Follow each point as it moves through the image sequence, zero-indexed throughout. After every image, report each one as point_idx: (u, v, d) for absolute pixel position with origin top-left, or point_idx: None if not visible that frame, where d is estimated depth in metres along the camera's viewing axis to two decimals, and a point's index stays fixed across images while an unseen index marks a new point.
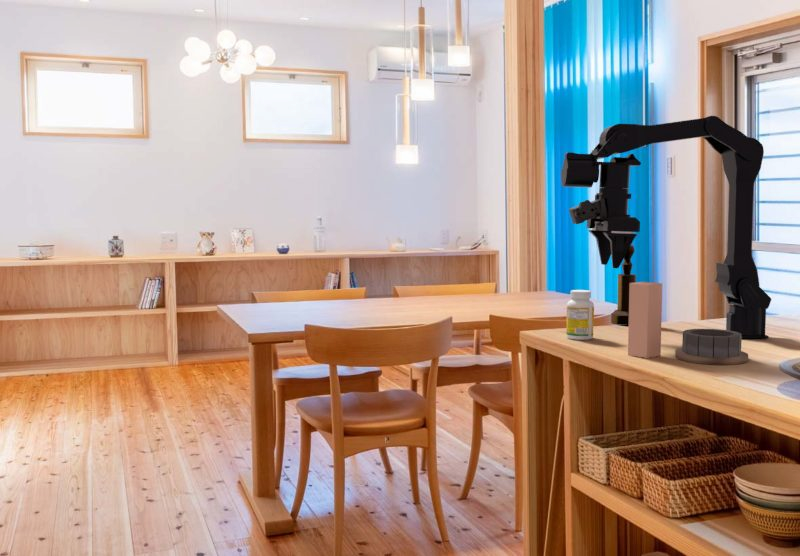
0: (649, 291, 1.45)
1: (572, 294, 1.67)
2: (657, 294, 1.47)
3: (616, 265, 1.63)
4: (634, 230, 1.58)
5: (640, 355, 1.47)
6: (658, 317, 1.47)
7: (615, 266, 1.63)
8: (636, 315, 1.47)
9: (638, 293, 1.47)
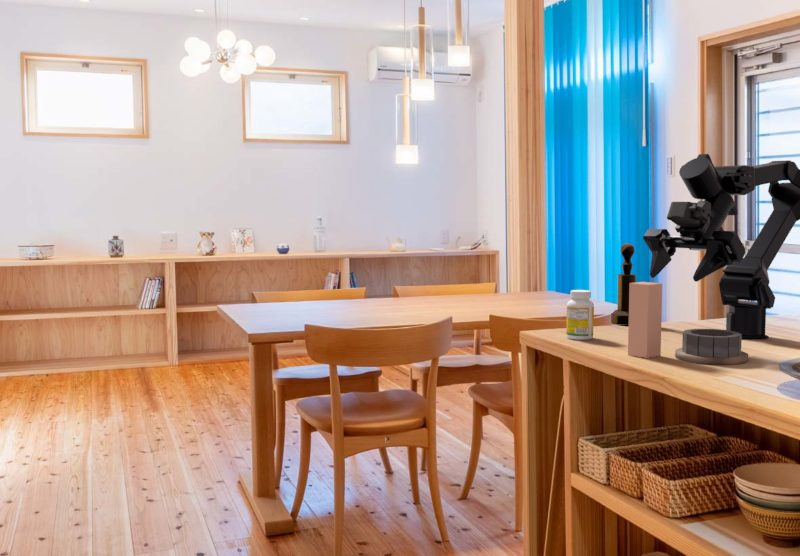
0: (649, 291, 1.45)
1: (572, 294, 1.67)
2: (657, 294, 1.47)
3: (696, 278, 1.49)
4: (740, 257, 1.49)
5: (640, 355, 1.47)
6: (658, 317, 1.47)
7: (696, 278, 1.49)
8: (636, 315, 1.47)
9: (638, 293, 1.47)
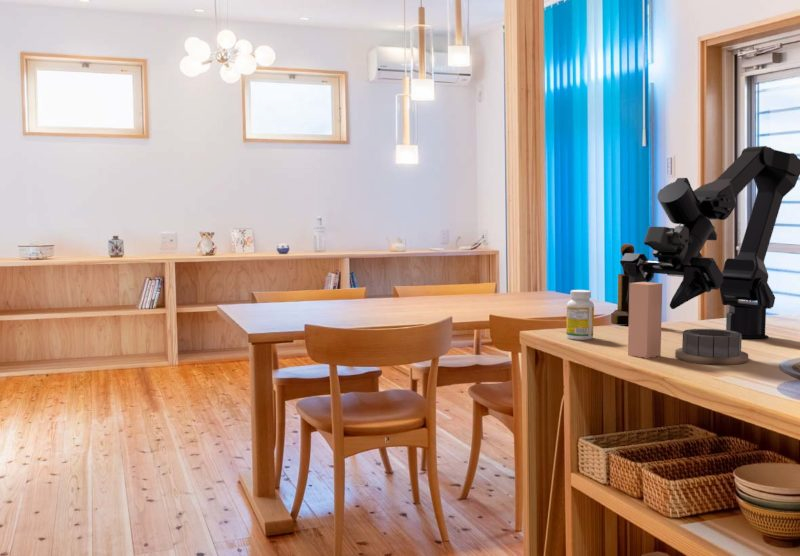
0: (649, 291, 1.45)
1: (572, 294, 1.67)
2: (657, 294, 1.47)
3: (673, 305, 1.45)
4: (718, 284, 1.45)
5: (640, 355, 1.47)
6: (658, 317, 1.47)
7: (673, 305, 1.45)
8: (636, 315, 1.47)
9: (638, 293, 1.47)
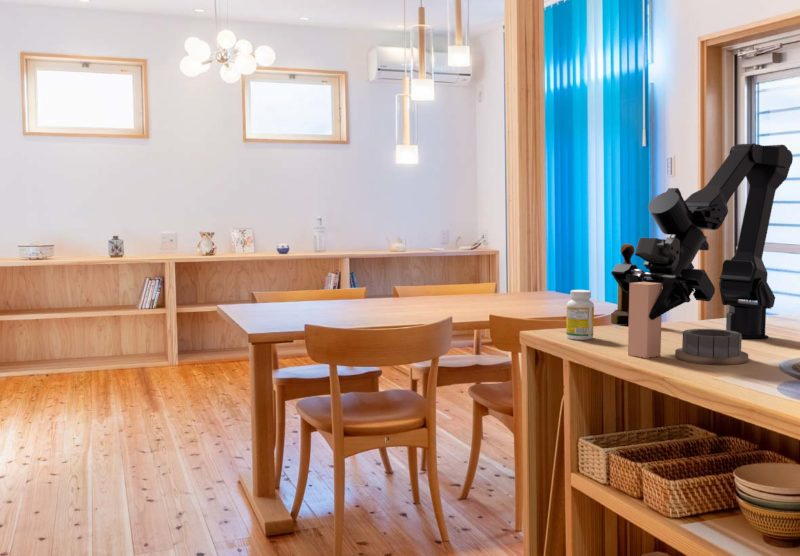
0: (649, 291, 1.45)
1: (572, 294, 1.67)
2: (657, 294, 1.47)
3: (652, 316, 1.46)
4: (710, 296, 1.44)
5: (640, 355, 1.47)
6: (658, 317, 1.47)
7: (652, 316, 1.46)
8: (636, 315, 1.47)
9: (638, 293, 1.47)
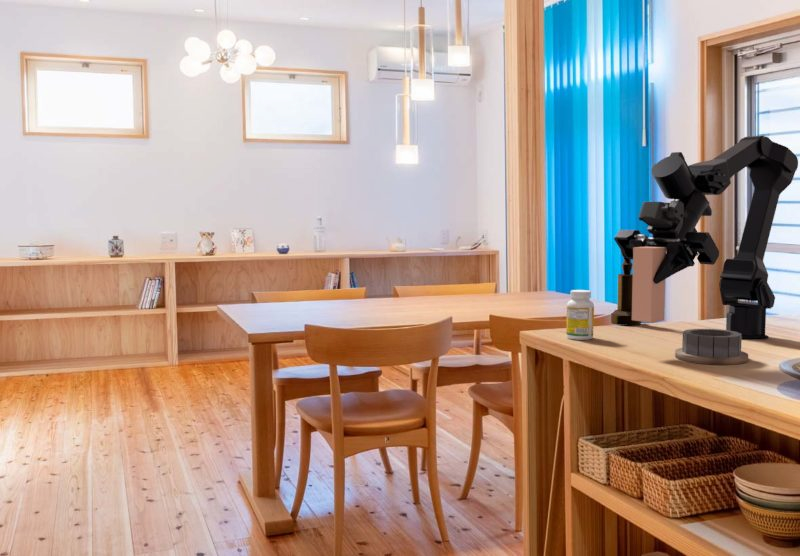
0: (653, 255, 1.45)
1: (572, 294, 1.67)
2: (661, 258, 1.46)
3: (656, 280, 1.45)
4: (714, 259, 1.43)
5: (644, 319, 1.46)
6: (662, 281, 1.47)
7: (656, 280, 1.45)
8: (640, 279, 1.47)
9: (642, 257, 1.46)
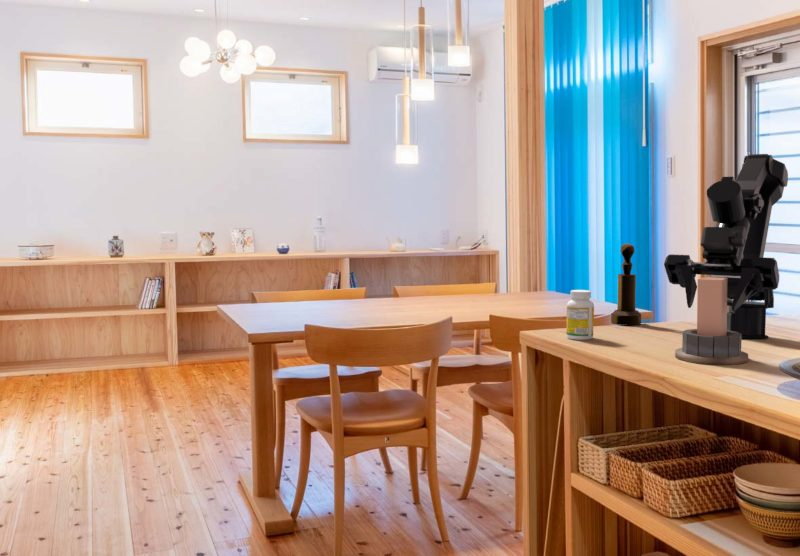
0: (722, 287, 1.42)
1: (572, 294, 1.67)
2: (725, 289, 1.44)
3: (734, 307, 1.42)
4: (777, 284, 1.44)
5: None
6: (725, 312, 1.45)
7: (735, 307, 1.42)
8: (707, 312, 1.44)
9: (708, 289, 1.43)
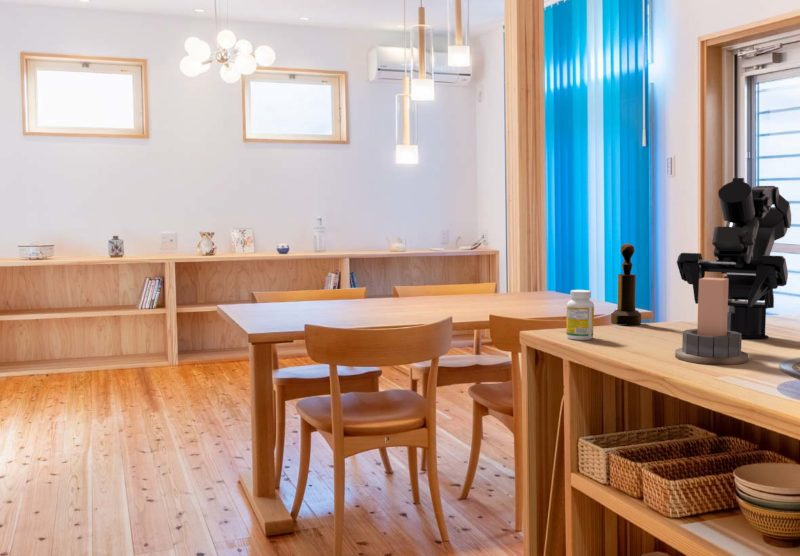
0: (723, 287, 1.42)
1: (572, 294, 1.67)
2: (726, 289, 1.44)
3: (750, 303, 1.48)
4: (786, 281, 1.50)
5: None
6: (726, 313, 1.45)
7: (751, 303, 1.48)
8: (708, 312, 1.44)
9: (709, 289, 1.43)
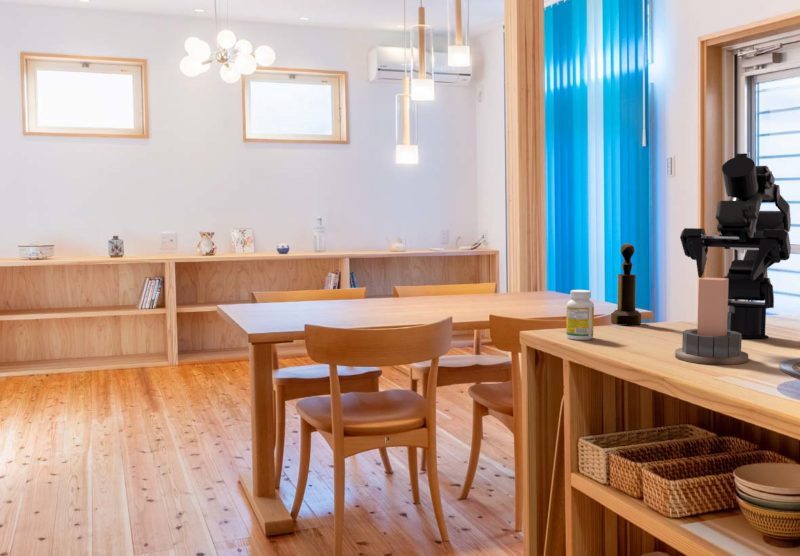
0: (723, 287, 1.42)
1: (572, 294, 1.67)
2: (726, 289, 1.44)
3: (753, 276, 1.49)
4: (788, 255, 1.51)
5: None
6: (726, 313, 1.45)
7: (754, 276, 1.49)
8: (708, 312, 1.44)
9: (709, 289, 1.43)
